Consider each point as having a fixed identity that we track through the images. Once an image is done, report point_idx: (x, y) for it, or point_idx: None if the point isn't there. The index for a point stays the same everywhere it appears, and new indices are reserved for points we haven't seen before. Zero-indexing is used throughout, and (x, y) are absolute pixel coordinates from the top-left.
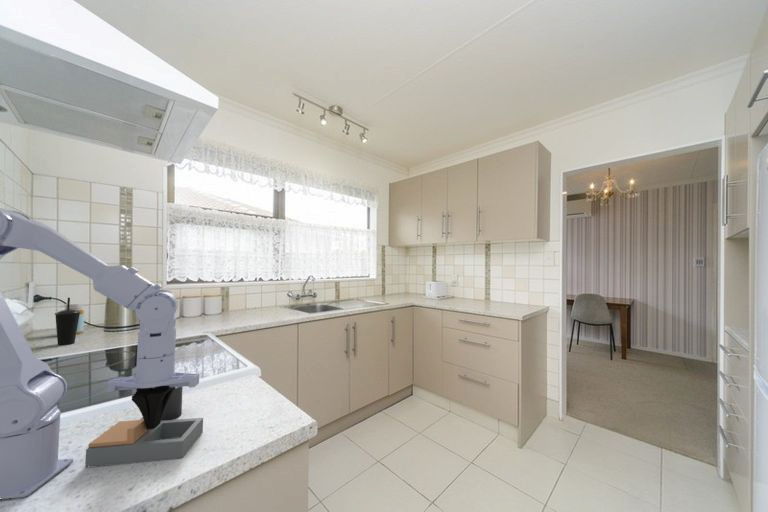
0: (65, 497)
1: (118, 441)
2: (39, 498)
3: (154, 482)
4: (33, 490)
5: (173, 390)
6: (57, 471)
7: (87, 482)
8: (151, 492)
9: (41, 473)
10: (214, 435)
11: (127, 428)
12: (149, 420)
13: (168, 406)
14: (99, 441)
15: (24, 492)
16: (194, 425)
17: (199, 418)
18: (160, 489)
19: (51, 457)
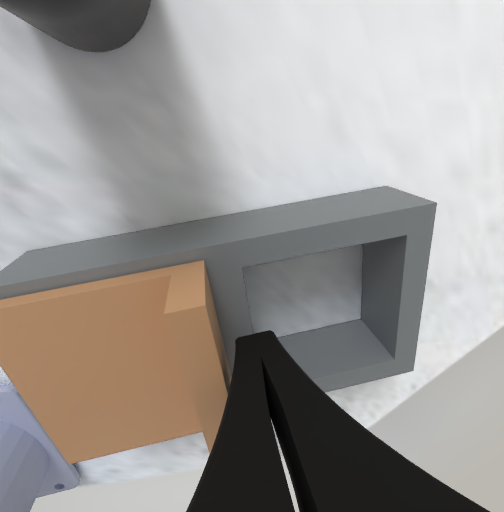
0: (180, 457)
1: (184, 435)
2: (118, 469)
3: (352, 402)
4: (76, 473)
5: (449, 493)
6: (45, 433)
7: None
8: (362, 421)
9: (37, 481)
10: (440, 207)
11: (118, 367)
12: (275, 429)
13: (79, 13)
14: (98, 449)
15: (65, 484)
16: (417, 277)
17: (419, 211)
18: (377, 414)
19: (11, 506)
